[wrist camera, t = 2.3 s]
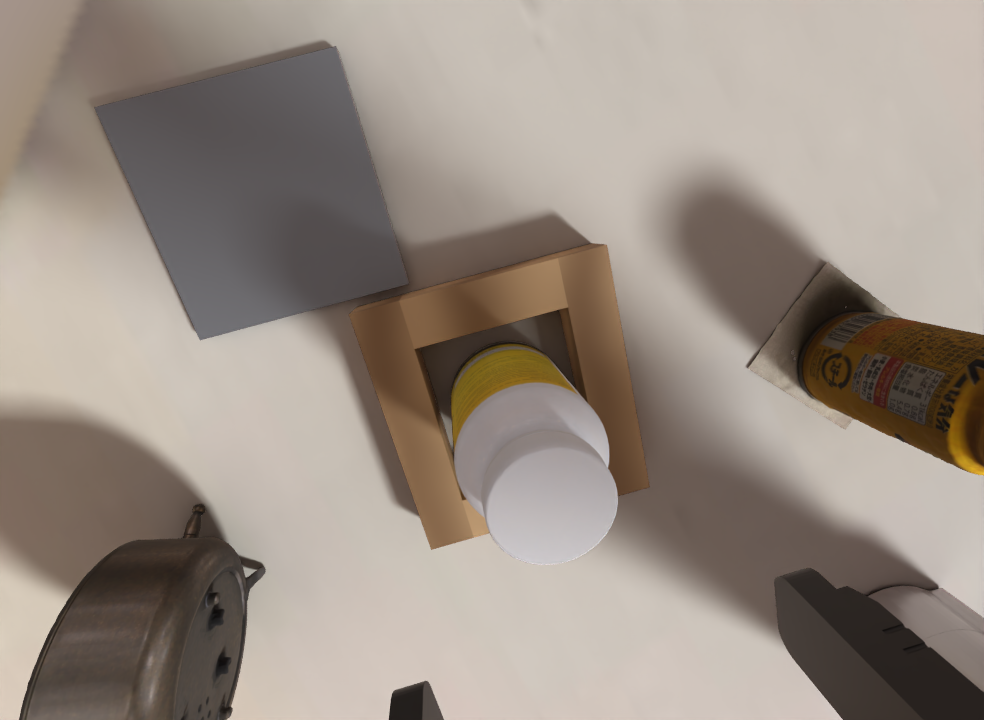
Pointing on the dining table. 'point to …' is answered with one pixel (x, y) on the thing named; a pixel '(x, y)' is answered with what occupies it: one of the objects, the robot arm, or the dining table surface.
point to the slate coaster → (258, 191)
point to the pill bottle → (531, 455)
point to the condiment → (880, 370)
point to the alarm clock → (148, 635)
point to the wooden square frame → (483, 305)
